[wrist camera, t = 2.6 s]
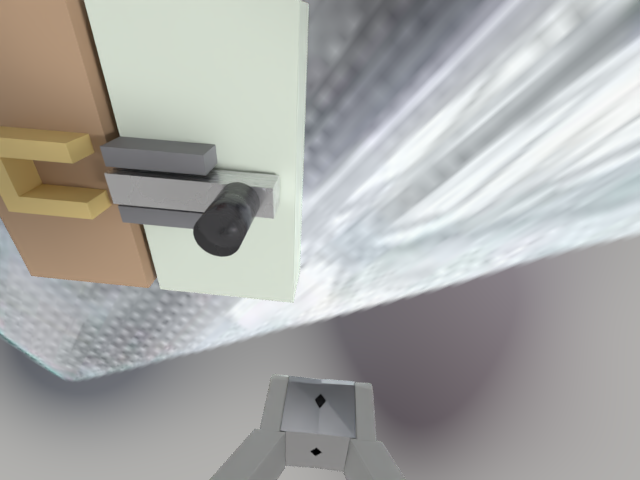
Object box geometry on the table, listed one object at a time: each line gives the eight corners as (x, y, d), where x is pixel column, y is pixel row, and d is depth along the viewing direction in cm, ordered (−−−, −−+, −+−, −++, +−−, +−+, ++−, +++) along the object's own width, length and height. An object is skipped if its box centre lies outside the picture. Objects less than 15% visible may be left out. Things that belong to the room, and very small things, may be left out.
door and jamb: (309, 3, 20) (293, -3, 15) (299, 271, 31) (289, 320, 26) (-51, -22, 20) (-183, -36, 15) (65, 248, 31) (11, 292, 26)
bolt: (279, 172, 21) (256, 219, 16) (279, 206, 22) (258, 260, 17) (122, 158, 21) (51, 200, 16) (132, 192, 23) (68, 241, 18)
